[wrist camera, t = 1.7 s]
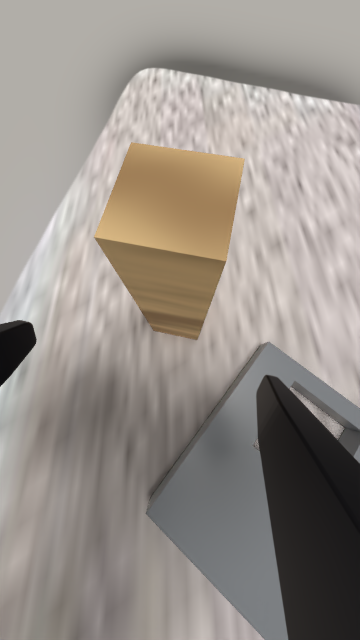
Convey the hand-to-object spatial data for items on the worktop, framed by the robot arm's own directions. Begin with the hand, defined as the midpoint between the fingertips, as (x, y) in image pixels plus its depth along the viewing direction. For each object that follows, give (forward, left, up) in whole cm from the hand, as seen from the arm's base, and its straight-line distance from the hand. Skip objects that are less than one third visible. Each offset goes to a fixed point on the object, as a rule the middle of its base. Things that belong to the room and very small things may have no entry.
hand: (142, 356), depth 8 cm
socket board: (-1, -12, -12) cm, 17 cm away
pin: (+5, +2, -12) cm, 13 cm away
